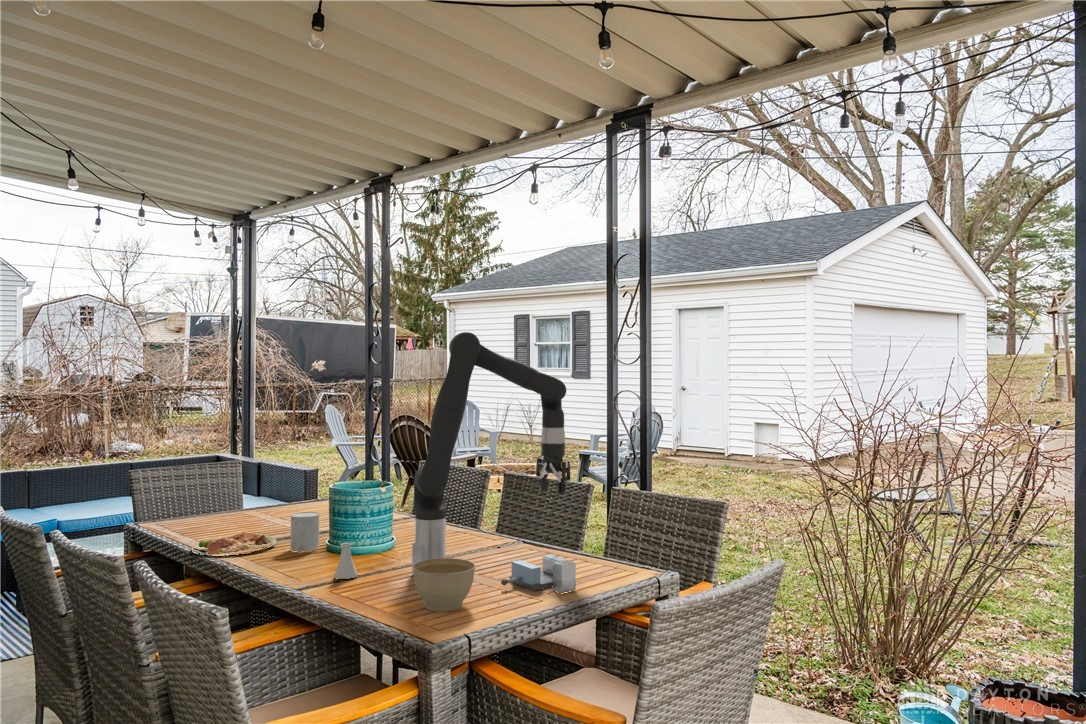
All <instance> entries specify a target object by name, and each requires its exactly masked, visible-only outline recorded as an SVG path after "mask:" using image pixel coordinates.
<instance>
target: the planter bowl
mask: <svg viewBox="0 0 1086 724" xmlns="http://www.w3.org/2000/svg"><path fill="white" fill-rule="evenodd" d="M475 570H476V564H475V563H474V562H473V561H470V560H467V559H462V558H453V557H445V558H436V559H428V560H423V561H420V562H418V563H416V564H414V565H413V571H414V575H413V578H414V584H415V588H416V590H417V593H418V595H419V596H420V598H421V600H422V601H423V603H424V607H425V608H426V610H428V611H432V612H439V613H442V612H443V613H446V612H453V611H456V610H458V609H460V608H462V605H463V601H464V600H466V598H467V597H468V595H469V592H470V590H471V589H472V586H473V582H474V578H475V577H474V576H475Z"/></svg>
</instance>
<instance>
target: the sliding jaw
mask: <svg viewBox="0 0 1086 724" xmlns="http://www.w3.org/2000/svg"><path fill="white" fill-rule="evenodd" d="M541 570H542V569H541V566H538V565H535V564H532V563H529V562H526V561H523V560H521V559H519V560H513V561H511V576H512V577H513V579H510V578H509V579H506V578H502V579H500V580H501V582H500V584H501V585H502V586H506V585H508V584H510V583H512V582H516V581H523V582H526V583H528V584H531V585H534V584H538V583H540V582H541Z"/></svg>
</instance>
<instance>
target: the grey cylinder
mask: <svg viewBox="0 0 1086 724" xmlns="http://www.w3.org/2000/svg"><path fill="white" fill-rule="evenodd" d="M317 548H319V549H320V513H319V512H317V511H303V512H302V511H301V512H295V513H292V514H291V515H290V550H293V551H297V552H302V551H310V550H314V549H317Z"/></svg>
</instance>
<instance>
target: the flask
mask: <svg viewBox="0 0 1086 724" xmlns="http://www.w3.org/2000/svg"><path fill="white" fill-rule="evenodd" d="M351 546H352V543H350V542H343V543H341V544H340V548H341V551H340V552H341V553H340V557H339V561H338V563H337V564H338V565H337V567H336V569H335V572H334V576H333V578H334V577H335V578H338V579H350V578H353V577H357V578H358V576H357V574H358V571H357V569H356V567H355V563H354V560H353V558H352V553H351ZM350 580H351V579H350Z"/></svg>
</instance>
